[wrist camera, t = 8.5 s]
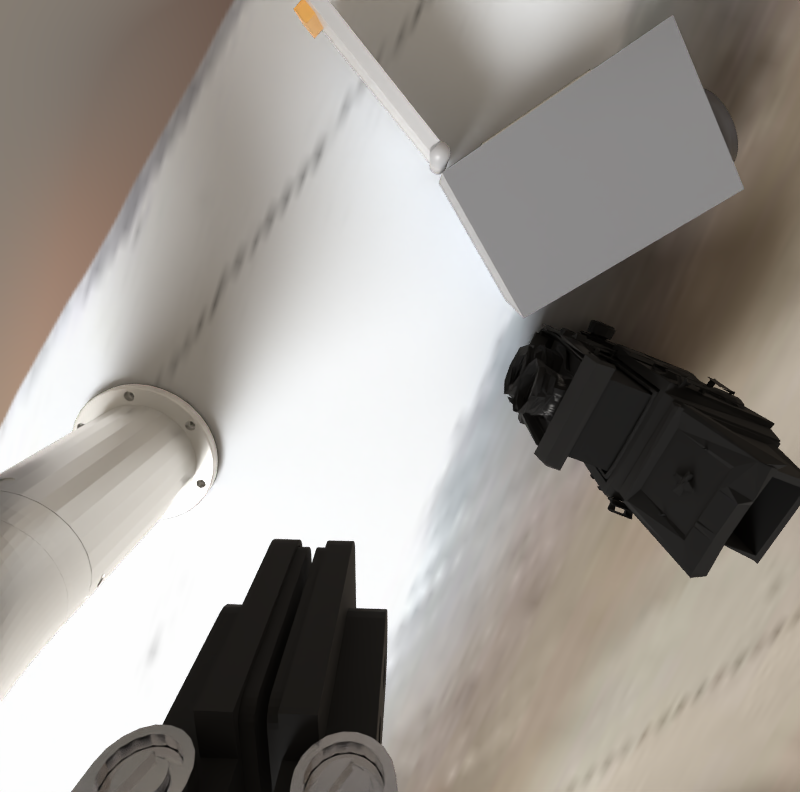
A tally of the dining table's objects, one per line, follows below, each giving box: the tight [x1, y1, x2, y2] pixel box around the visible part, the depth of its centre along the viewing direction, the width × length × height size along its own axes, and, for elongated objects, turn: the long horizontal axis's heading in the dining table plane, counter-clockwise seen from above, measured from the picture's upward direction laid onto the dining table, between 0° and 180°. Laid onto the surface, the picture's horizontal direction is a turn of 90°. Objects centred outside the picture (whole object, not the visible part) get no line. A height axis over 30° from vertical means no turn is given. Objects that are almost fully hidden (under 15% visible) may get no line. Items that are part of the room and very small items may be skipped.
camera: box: [504, 320, 800, 578], centre depth 32 cm, size 10×14×20 cm
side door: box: [294, 0, 450, 174], centre depth 32 cm, size 12×2×6 cm, turn 42°
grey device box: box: [439, 15, 744, 318], centre depth 33 cm, size 15×10×8 cm
